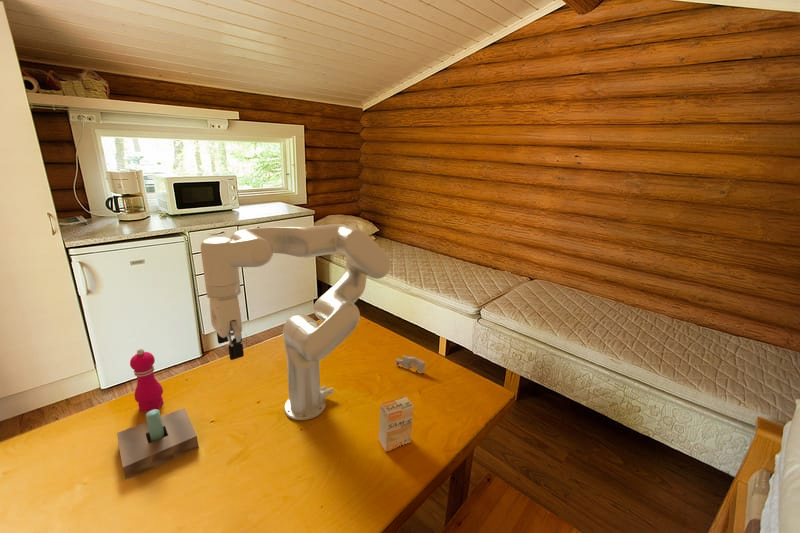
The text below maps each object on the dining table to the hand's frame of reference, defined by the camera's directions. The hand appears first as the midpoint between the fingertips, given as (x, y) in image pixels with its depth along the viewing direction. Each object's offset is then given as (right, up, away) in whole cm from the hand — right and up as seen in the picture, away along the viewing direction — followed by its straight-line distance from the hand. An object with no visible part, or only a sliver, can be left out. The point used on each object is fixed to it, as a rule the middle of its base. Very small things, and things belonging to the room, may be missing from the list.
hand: (230, 349), depth 92 cm
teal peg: (-21, -27, +4) cm, 35 cm away
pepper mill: (-34, -22, +19) cm, 45 cm away
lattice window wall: (+48, -18, +44) cm, 68 cm away
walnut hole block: (-21, -27, +4) cm, 35 cm away
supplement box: (+43, -29, +9) cm, 52 cm away
